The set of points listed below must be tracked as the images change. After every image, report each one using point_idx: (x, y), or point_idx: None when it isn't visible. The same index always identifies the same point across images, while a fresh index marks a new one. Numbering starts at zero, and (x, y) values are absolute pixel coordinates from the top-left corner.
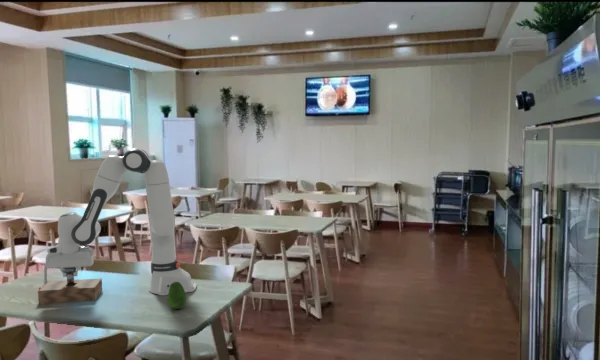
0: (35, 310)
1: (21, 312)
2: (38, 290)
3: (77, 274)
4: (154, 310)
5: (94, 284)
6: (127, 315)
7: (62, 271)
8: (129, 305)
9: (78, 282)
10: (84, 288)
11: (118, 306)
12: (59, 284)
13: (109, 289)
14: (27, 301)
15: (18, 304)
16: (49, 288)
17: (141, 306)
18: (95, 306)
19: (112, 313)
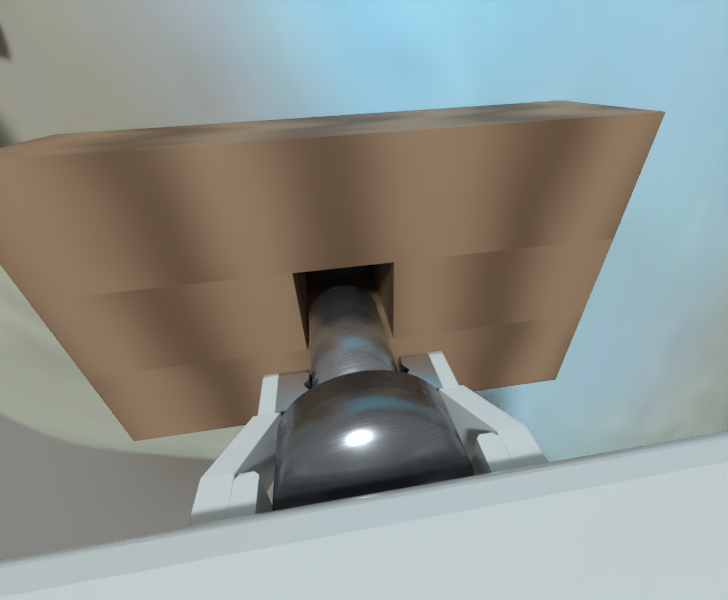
0: (229, 430)
1: (171, 449)
2: (129, 434)
3: (443, 363)
4: (708, 419)
5: (559, 321)
6: (612, 450)
7: (263, 483)
8: (648, 382)
9: (405, 254)
10: (483, 387)
11: (603, 391)
12: (216, 305)
13: (624, 80)
14: (33, 319)
15: (23, 366)
16: (193, 397)
17: (686, 390)
18: (508, 391)
19: (569, 441)
